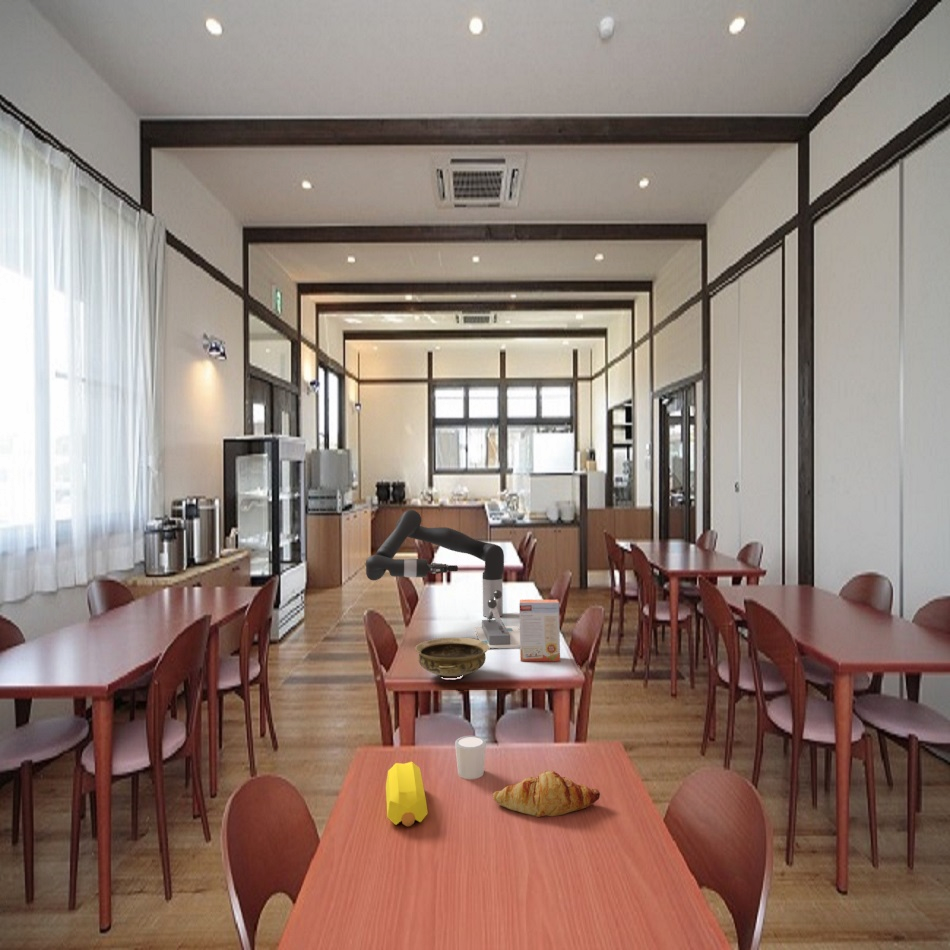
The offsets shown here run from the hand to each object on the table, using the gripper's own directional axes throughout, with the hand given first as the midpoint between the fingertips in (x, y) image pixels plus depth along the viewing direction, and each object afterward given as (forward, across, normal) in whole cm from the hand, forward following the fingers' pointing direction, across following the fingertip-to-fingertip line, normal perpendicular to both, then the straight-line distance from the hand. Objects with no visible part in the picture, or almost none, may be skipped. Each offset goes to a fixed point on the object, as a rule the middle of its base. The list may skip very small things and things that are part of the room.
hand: (457, 568), depth 258 cm
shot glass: (-7, -120, +29) cm, 123 cm away
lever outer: (+16, -18, +21) cm, 32 cm away
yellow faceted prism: (-21, -131, +29) cm, 136 cm away
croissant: (+7, -135, +28) cm, 138 cm away
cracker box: (+27, -39, +27) cm, 54 cm away
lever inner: (+14, 0, +21) cm, 25 cm away
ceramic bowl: (-6, -54, +28) cm, 61 cm away
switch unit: (+17, -9, +27) cm, 33 cm away
